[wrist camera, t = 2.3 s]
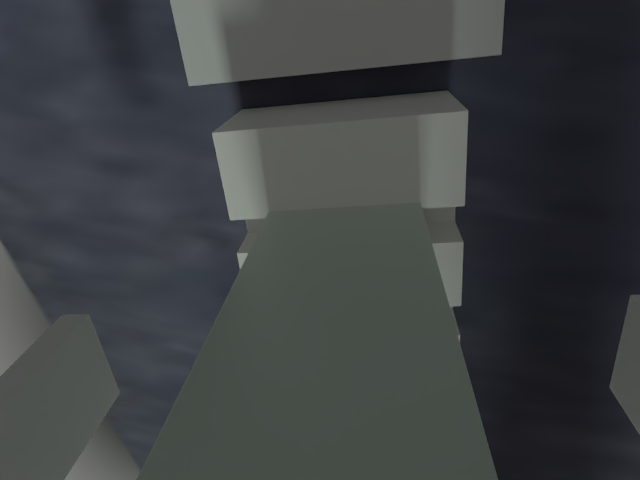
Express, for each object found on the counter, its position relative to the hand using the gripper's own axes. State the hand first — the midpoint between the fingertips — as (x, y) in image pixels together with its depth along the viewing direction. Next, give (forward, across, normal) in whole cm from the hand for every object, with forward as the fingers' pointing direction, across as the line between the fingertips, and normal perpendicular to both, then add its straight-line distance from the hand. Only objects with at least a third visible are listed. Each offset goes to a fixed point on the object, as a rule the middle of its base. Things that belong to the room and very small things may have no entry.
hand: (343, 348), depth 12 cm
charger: (+5, 0, 0) cm, 5 cm away
